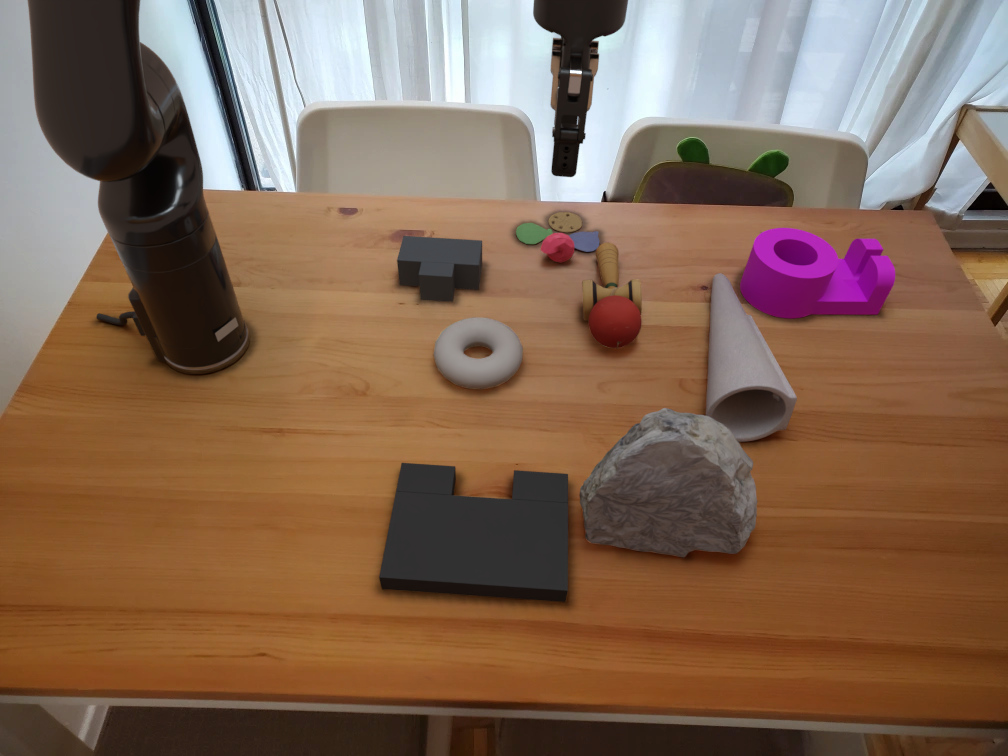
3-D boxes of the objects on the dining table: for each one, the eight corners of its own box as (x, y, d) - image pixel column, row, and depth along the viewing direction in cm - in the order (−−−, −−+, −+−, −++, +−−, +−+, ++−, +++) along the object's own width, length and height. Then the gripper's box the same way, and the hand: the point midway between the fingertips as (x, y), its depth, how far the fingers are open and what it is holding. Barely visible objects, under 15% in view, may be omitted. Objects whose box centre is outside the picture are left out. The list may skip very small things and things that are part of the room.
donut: (423, 388, 79) (513, 402, 77) (421, 366, 76) (513, 380, 75) (446, 327, 85) (529, 339, 84) (445, 305, 83) (530, 317, 82)
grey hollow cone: (663, 249, 89) (714, 385, 69) (733, 248, 89) (803, 385, 70) (654, 301, 94) (699, 442, 74) (720, 300, 94) (782, 441, 75)
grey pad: (396, 298, 88) (393, 273, 85) (405, 260, 93) (403, 235, 91) (477, 303, 88) (477, 278, 85) (482, 265, 93) (482, 240, 90)
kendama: (569, 269, 95) (574, 351, 81) (582, 226, 91) (590, 305, 77) (625, 280, 96) (640, 363, 82) (640, 239, 92) (659, 319, 78)
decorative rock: (572, 548, 66) (591, 447, 55) (577, 487, 70) (596, 384, 59) (754, 573, 64) (811, 475, 53) (747, 510, 69) (798, 408, 58)
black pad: (381, 589, 62) (378, 577, 61) (403, 475, 71) (401, 462, 69) (565, 602, 62) (567, 590, 60) (566, 486, 70) (568, 473, 69)
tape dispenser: (751, 318, 88) (766, 278, 83) (731, 267, 94) (744, 227, 90) (879, 318, 88) (901, 278, 84) (851, 268, 95) (870, 228, 90)
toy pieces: (613, 261, 94) (618, 234, 91) (531, 272, 92) (533, 244, 89) (585, 210, 102) (589, 183, 99) (509, 219, 100) (510, 191, 97)
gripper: (540, -73, 60) (528, 111, 72) (532, -12, 51) (519, 189, 63) (630, -67, 60) (602, 116, 72) (638, -5, 50) (605, 195, 62)
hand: (564, 150), depth 67 cm, fingers open, 8 cm apart
